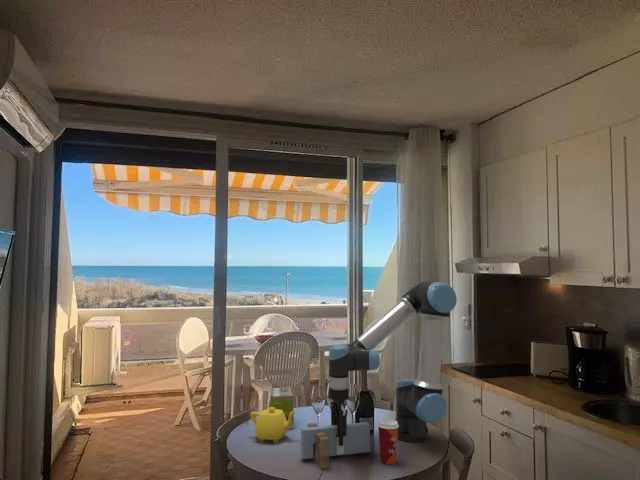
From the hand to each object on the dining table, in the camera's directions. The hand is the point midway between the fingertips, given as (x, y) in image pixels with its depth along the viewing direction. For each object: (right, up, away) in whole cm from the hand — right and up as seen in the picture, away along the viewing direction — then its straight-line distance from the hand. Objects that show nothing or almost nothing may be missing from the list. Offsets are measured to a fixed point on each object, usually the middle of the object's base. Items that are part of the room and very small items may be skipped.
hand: (338, 451), depth 175 cm
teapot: (-26, -3, +18) cm, 32 cm away
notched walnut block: (-8, -1, -2) cm, 8 cm away
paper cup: (+18, -2, -4) cm, 19 cm away
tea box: (-24, -4, +37) cm, 44 cm away
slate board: (-1, -1, 0) cm, 1 cm away
